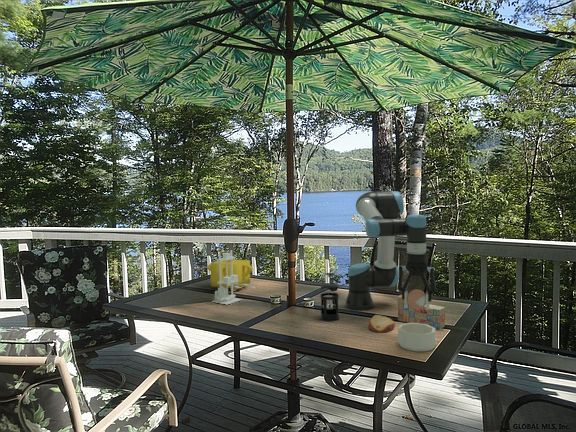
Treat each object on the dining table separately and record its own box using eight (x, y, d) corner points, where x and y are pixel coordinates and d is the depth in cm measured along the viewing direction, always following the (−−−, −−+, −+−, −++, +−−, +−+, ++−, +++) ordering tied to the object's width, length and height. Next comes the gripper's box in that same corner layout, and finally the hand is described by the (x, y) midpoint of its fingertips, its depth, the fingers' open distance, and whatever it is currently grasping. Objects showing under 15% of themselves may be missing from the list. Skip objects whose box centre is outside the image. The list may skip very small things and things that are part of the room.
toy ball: (423, 312, 167) (423, 293, 166) (404, 310, 171) (404, 290, 171) (428, 307, 174) (428, 288, 173) (410, 305, 178) (410, 286, 177)
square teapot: (263, 285, 289) (263, 254, 288) (241, 295, 262) (240, 261, 260) (220, 281, 303) (219, 252, 302) (195, 291, 276) (194, 259, 275)
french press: (332, 322, 204) (331, 276, 203) (316, 319, 210) (315, 274, 209) (344, 316, 214) (343, 272, 213) (328, 313, 220) (327, 270, 218)
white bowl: (396, 348, 170) (396, 331, 169) (402, 337, 183) (402, 321, 182) (432, 353, 164) (432, 336, 164) (436, 341, 177) (436, 325, 176)
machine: (211, 302, 246) (210, 251, 244) (226, 298, 256) (224, 249, 254) (249, 310, 230) (248, 255, 228) (263, 304, 240) (262, 252, 238)
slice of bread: (380, 318, 212) (380, 310, 211) (407, 327, 196) (407, 319, 196) (352, 324, 202) (352, 317, 202) (379, 335, 187) (379, 326, 187)
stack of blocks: (445, 326, 196) (445, 300, 195) (439, 330, 192) (439, 303, 191) (403, 317, 211) (403, 293, 210) (397, 320, 206) (397, 295, 206)
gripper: (389, 253, 172) (389, 308, 173) (442, 255, 163) (442, 313, 164) (392, 250, 179) (393, 303, 180) (444, 252, 170) (444, 308, 171)
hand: (416, 308), depth 172 cm, fingers closed on toy ball, 8 cm apart
